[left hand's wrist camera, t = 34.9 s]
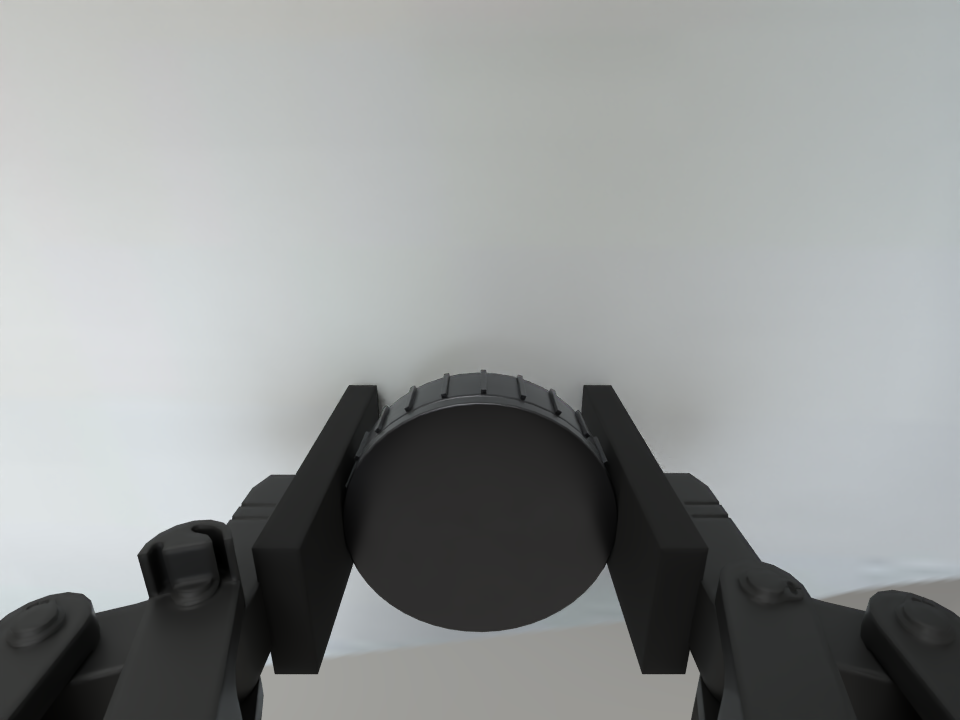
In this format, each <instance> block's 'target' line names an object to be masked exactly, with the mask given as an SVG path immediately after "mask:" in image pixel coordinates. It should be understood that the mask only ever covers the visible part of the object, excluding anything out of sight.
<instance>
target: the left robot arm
mask: <svg viewBox="0 0 960 720" xmlns="http://www.w3.org/2000/svg"><path fill="white" fill-rule="evenodd" d="M582 417H583V419H584V422H585V424H586V426H587V428H588V429H589V431H590V433H591V435H592V437H593V438H594V437H596V436H597V438H598V440H599V443H600V445H601V447H602V450H603V452H604V454H605V457H606V459H607V461H608V464H609V465H607V466H606V469H607V471H608V474H609V476H610V478H611V481H612V484H613V487H614V491H615V494H616V499H617V506H618V522H617V531H616V539H615V543H614V546H613V549H612V552H611V555H610V557H609V559H608V561H607V565H608V568H609V572H610V575H611V578H612V581H613V584H614V587H615V590H616V594H617V597H618V600H619V603H620V606H621V609H622V612H623V615H624V619H625V622H626V625H627V628H628V631H629V634H630V637H631V640H632V643H633V647H634V650H635V653H636V656H637V659H638V662H639V665H640V669H641V672H642V674H685V673H686V667H687V662H688V657H689V651H691V653H692V655H693V658H694V660H695V662H696V665H697V667H698V669H699V672H700V677H699V682H698V688H697V692H696V697H695V702H694V707H693V712H692V718H691V720H960V617H959V616H957V615H956V614H955V613H954V612H952V611H950V610H948V609H947V608H945V607H943V606H941V605H939V604H938V603H936V602H934V601H932V600H929V599H926V598H924V597H921V596H918V595H915V594H912V593H908V592H902V591H896V590H889V591H881V592H877V593H876V594H875V595H874V596H872V597H871V598H870V600H869V603H868V606H867V609H866V611H862V610H858V609H854V608H849V607H845V606H841V605H836V604H832V603H828V602H824V601H820V600H817V599H814V598H811V597H810V595H809V594H808V592H807V590H806V589H805V587H804V586H803V585H802V584H801V583H800V582H799V581H798V580H797V579H795V578H794V577H793V576H792V575H791V574H789V573H787V572H785V571H784V570H782V569H780V568H778V567H776V566H774V565H771V564H768V563H764V562H761V560H760V559H759V557H758V556H757V555H756V553H755V552H754V550H753V549H752V548H751V546H750V545H749V543H748V542H747V541H746V539H745V538H744V536H743V535H742V533H741V532H740V531H739V529H738V528H737V526H736V525H735V524H734V522H733V521H732V519H731V518H728V514H727V512H726V511H725V510H724V508H723V507H722V505H719V501H718V500H717V498H716V497H715V496H714V494H713V493H712V491H711V490H710V489H709V487H708V486H707V485H705V484H704V483H702V482H701V481H700V480H698V479H697V478H695V477H694V476H693V475H691V474H690V473H663V471H662V469H661V468H660V466H659V464H658V463H657V461H656V459H655V458H654V456H653V454H652V453H651V451H650V449H649V448H648V446H647V444H646V443H645V441H644V439H643V438H642V436H641V434H640V433H639V431H638V429H637V428H636V426H635V424H634V423H633V421H632V419H631V418H630V416H629V414H628V413H627V411H626V409H625V408H624V406H623V404H622V403H621V401H620V399H619V398H618V396H617V394H616V393H615V391H614V389H613V388H612V386H611V385H584V387H583V401H582ZM378 419H379V412H378V399H377V385H349V386H348V388H347V390H346V391H345V393H344V395H343V396H342V398H341V400H340V401H339V403H338V405H337V406H336V408H335V410H334V411H333V413H332V415H331V416H330V418H329V420H328V421H327V423H326V425H325V426H324V428H323V430H322V431H321V433H320V435H319V436H318V438H317V440H316V441H315V443H314V445H313V446H312V448H311V450H310V451H309V453H308V455H307V456H306V458H305V460H304V461H303V463H302V465H301V466H300V468H299V470H298V471H297V473H296V475H270V476H269V477H267V478H266V479H265V480H263V481H262V482H260V483H259V484H258V485H256V486H255V487H253V488H252V489H251V491H250V492H249V494H248V495H247V497H246V498H245V499H244V501H243V502H242V505H241V507H239V508H238V509H237V511H236V512H235V513H234V515H233V516H232V520H230V521H229V522H228V523H227V525H225V524H224V523H223V522H218V521H214V520H198V521H191V522H188V523H184V524H180V525H176V526H174V527H172V528H170V529H168V530H166V531H164V532H162V533H160V534H158V535H157V536H156V537H154V538H153V539H152V540H150V541H149V542H148V543H146V544H145V546H144V547H143V548H142V550H141V551H140V552H139V554H138V555H137V556H138V559H139V563H140V566H141V570H142V574H143V577H144V581H145V584H146V588H147V591H148V595H149V600H147V601H144V602H140V603H137V604H133V605H129V606H124V607H120V608H116V609H112V610H107V611H103V612H99V613H95V611H94V608H93V605H92V602H91V600H90V599H88V598H87V597H86V596H85V595H83V594H79V593H71V592H66V593H60V594H54V595H49V596H46V597H43V598H40V599H37V600H35V601H32V602H29V603H27V604H26V605H24V606H22V607H20V608H18V609H17V610H15V611H13V612H11V613H9V614H8V615H7V616H5V617H4V618H3V619H2V620H0V720H261V717H262V706H263V689H262V682H261V678H260V675H261V672H262V670H263V668H264V665H265V663H266V661H267V658H268V656H269V654H270V651H271V656H272V661H273V667H274V672H275V674H318V672H319V669H320V666H321V663H322V660H323V656H324V653H325V650H326V647H327V644H328V641H329V638H330V635H331V631H332V628H333V625H334V622H335V619H336V616H337V613H338V610H339V606H340V603H341V600H342V597H343V594H344V591H345V588H346V585H347V581H348V578H349V575H350V572H351V569H352V566H353V563H354V562H353V561H352V559H351V556H350V554H349V551H348V548H347V546H346V542H345V537H344V530H343V520H342V509H343V500H344V496H345V492H346V488H345V486H346V484H347V481H348V479H349V476H350V474H351V472H352V469H353V467H354V465H355V462H356V460H354V458H355V456H356V453H357V451H358V449H359V446H360V444H361V442H362V439H363V437H364V435H365V433H366V431H367V432H369V433H370V431H371V430H372V428H373V427H374V425H375V423H376V422H377V421H378Z"/></svg>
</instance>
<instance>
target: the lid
mask: <svg viewBox="0 0 960 720" xmlns="http://www.w3.org/2000/svg"><path fill="white" fill-rule="evenodd" d="M354 460H356V462H355V465H354V467H353V469H352V472H351V474H350V476H349V479H348V481H347V484H346V486H345V488H346V492H345V496H344V500H343V509H342V520H343V530H344V537H345V542H346V546H347V548H348V551H349V554H350V556H351V559H352V561H353V562H354V564H355V566H356V568H357V570H358V571H359V573H360V574H361V576H362V577H363V578H364V580H365V581H366V582H367V583H368V585H369V586H370V587H371V588H372V589H373V590H374V591H375V592H376V593H377V594H378V595H379V596H380V597H382V598H383V599H384V600H386V601H387V602H388V603H389V604H391V605H392V606H394V607H395V608H397V609H398V610H400V611H402V612H403V613H405V614H407V615H409V616H411V617H414V618H416V619H418V620H420V621H423V622H426V623H429V624H432V625H434V626H439V627H443V628H447V629H452V630H460V631H470V632H489V631H501V630H507V629H513V628H518V627H521V626H525V625H529V624H532V623H535V622H537V621H540V620H542V619H545V618H547V617H549V616H551V615H553V614H555V613H557V612H559V611H561V610H562V609H563V608H565V607H566V606H568V605H569V604H571V603H572V602H574V601H575V600H576V599H577V598H578V597H580V596H581V595H582V594H583V593H584V592H585V591H586V590H587V589H588V588H589V587H590V586H591V585H592V584H593V582H594V581H595V580H596V579H597V577H598V576H599V574H600V573H601V571H602V570H603V569H604V567H605V565H606V563H607V561H608V559H609V557H610V555H611V552H612V549H613V546H614V543H615V539H616V531H617V522H618V506H617V499H616V494H615V491H614V487H613V484H612V481H611V478H610V476H609V474H608V471H607V469H606V466H607V465H609V464H608V461H607V459H606V457H605V454H604V452H603V450H602V447H601V445H600V443H599V440H598V438H597V436H596V437H594V438H593V437H592V435H591V433H590V431H589V429H588V428H587V426H586V424H585V422H584V419H583V417H582V414H581V412H580V411H579V410H577V411H576V412H575V411H574V410H573V409H572V408H571V407H570V406H569V405H568V404H566V403H565V402H564V401H563V400H561V399H560V398H559V397H558V396H557V395H556V392H555V391H554V390H553V389H551V390H550V391H548V390H546V389H544V388H543V387H540V386H538V385H536V384H533V383H531V382H529V381H526V380H523V377H522V376H520V375H518V376H517V378H516V377H512V376H507V375H501V374H494V373H486V370H481V373H469V374H459V375H454V376H450V375H449V373H448V374H444V378H441V379H438V380H435V381H432V382H429V383H426V384H424V385H422V386H420V387H418V388H416V387H415V386H413V387H411V388H410V392H409V393H408V394H406V395H405V396H403V397H402V398H400V399H399V400H397V401H396V402H395V403H394V404H393V405H392V406H391V407H387V406H385V407H384V408H383V411H382V413H381V416H380V418H379V419H378V421H377V422H376V423H375V425H374V427H373V428H372V430H371V431H370V433H369V432H367V431H366V433H365V435H364V437H363V439H362V442H361V444H360V446H359V449H358V451H357V453H356V456H355V458H354Z"/></svg>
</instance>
